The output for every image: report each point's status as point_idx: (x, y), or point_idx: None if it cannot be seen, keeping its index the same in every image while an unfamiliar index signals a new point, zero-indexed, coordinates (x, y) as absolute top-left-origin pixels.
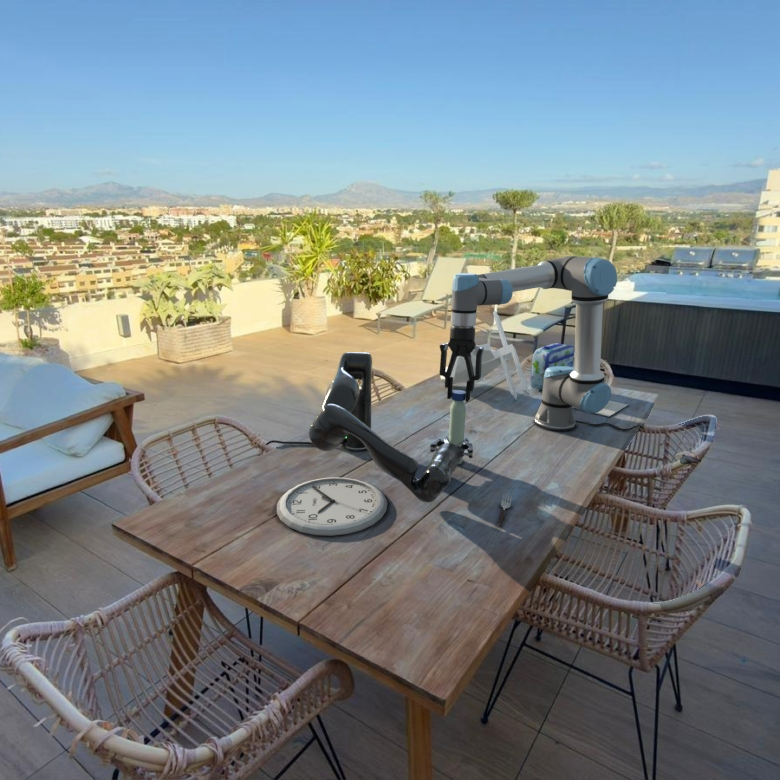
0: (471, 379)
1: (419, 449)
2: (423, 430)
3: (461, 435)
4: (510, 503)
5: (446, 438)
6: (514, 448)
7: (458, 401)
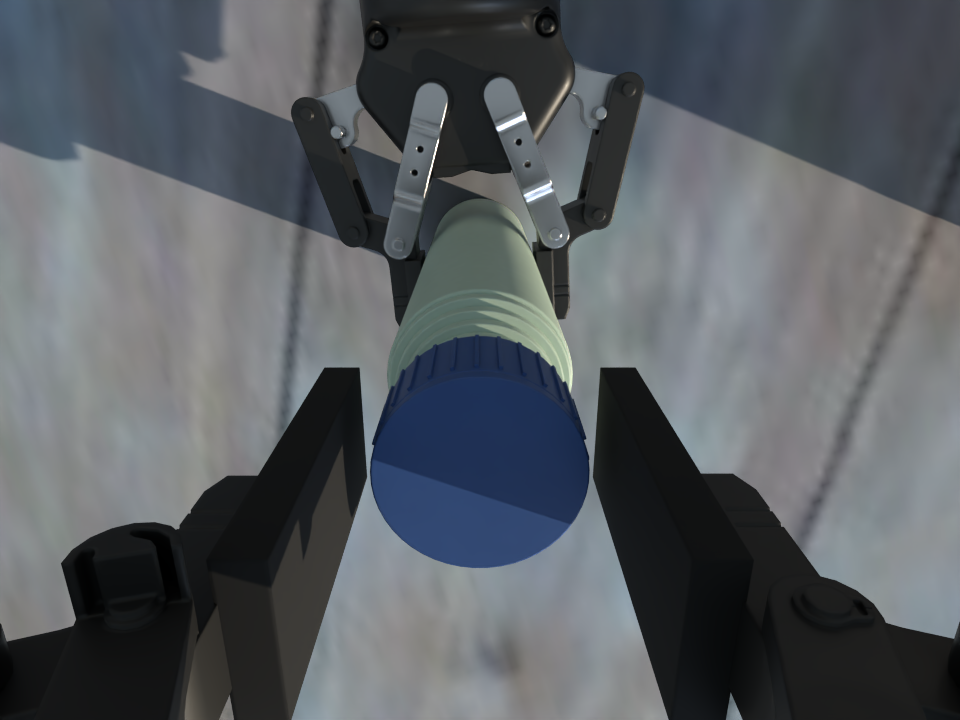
0: (115, 606)
1: (730, 317)
2: None
3: (427, 258)
4: None
5: (558, 282)
6: None
7: None
